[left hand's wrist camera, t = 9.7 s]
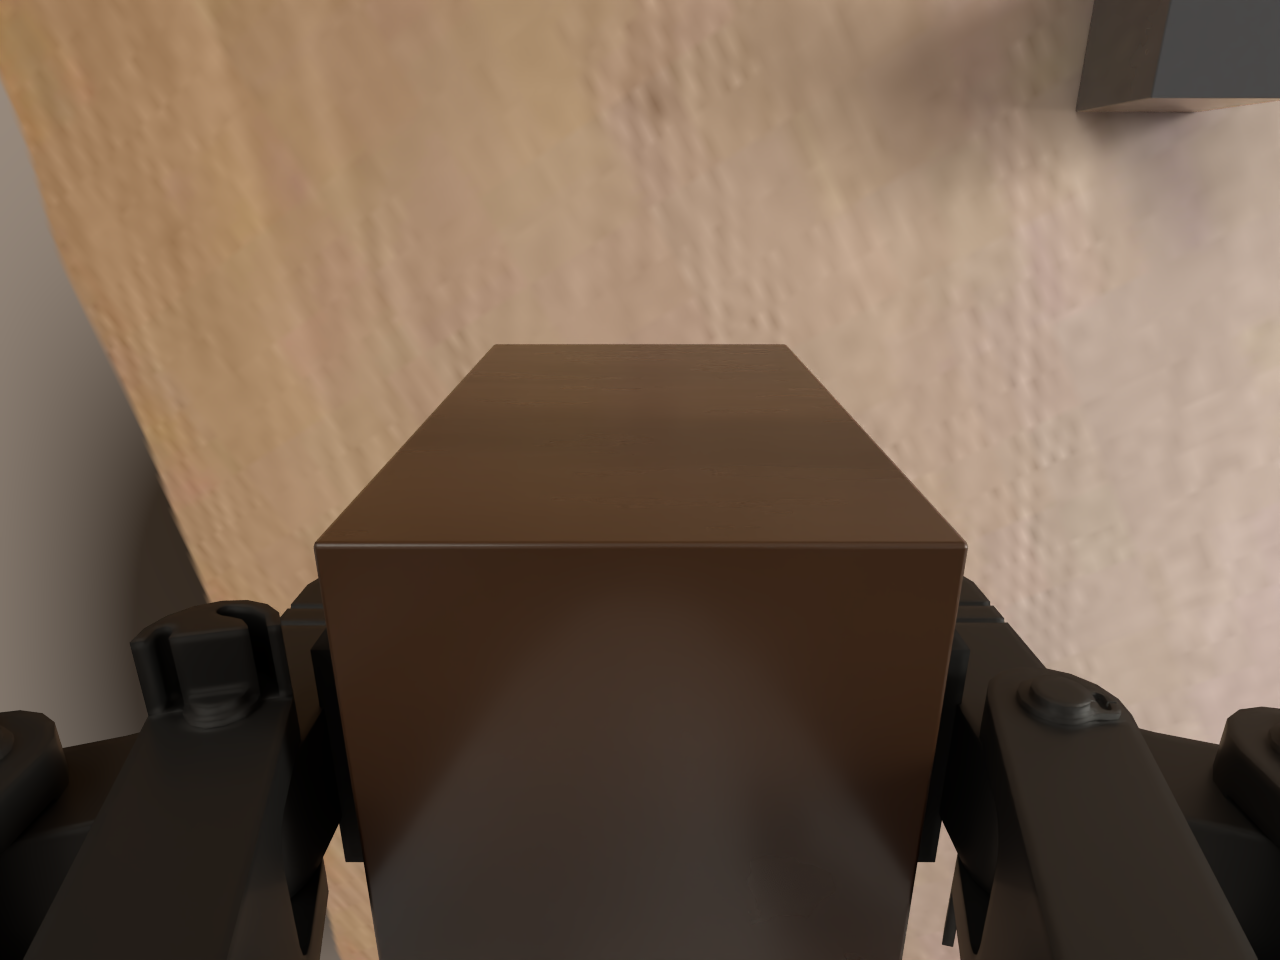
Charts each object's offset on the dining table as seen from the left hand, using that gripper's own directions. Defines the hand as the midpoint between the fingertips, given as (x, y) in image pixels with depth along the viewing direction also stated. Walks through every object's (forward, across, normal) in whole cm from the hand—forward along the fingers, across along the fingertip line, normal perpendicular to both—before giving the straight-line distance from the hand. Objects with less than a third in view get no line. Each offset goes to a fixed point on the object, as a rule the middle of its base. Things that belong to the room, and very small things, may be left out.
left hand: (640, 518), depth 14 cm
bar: (0, 0, -10) cm, 10 cm away
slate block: (+15, +16, +10) cm, 24 cm away
